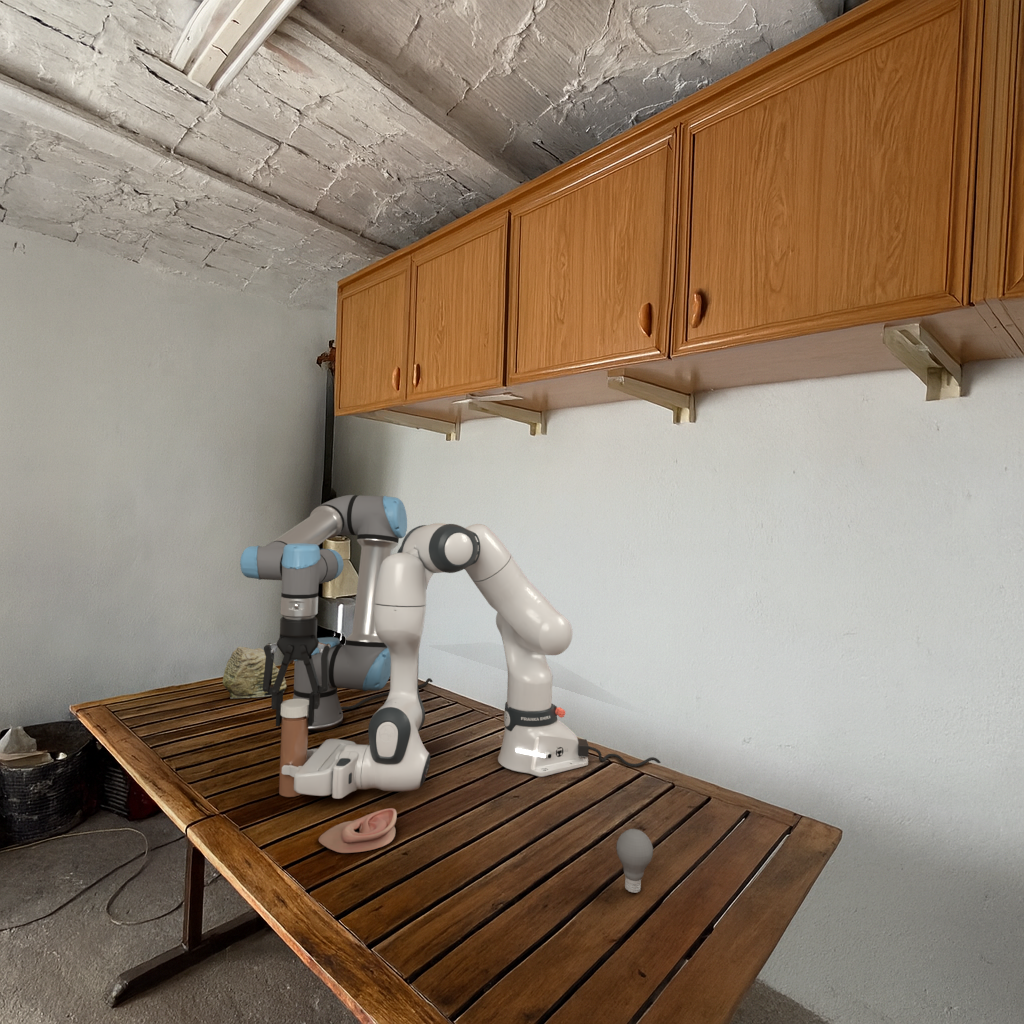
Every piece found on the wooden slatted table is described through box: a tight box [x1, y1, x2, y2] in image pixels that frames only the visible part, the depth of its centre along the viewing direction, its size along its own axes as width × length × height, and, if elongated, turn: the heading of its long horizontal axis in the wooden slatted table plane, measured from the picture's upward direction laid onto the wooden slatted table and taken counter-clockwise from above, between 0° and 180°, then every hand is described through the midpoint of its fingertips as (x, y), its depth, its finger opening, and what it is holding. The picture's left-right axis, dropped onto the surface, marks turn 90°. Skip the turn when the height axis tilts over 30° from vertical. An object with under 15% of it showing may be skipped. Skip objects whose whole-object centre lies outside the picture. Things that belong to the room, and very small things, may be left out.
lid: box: [281, 698, 309, 718], centre depth 135 cm, size 6×6×2 cm
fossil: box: [222, 646, 288, 699], centre depth 198 cm, size 9×18×15 cm, turn 132°
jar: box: [278, 715, 309, 798], centre depth 136 cm, size 6×6×18 cm
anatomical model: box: [318, 807, 398, 854], centre depth 118 cm, size 13×4×12 cm
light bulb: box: [615, 828, 654, 894], centre depth 106 cm, size 6×6×10 cm
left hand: (294, 723), depth 135 cm, fingers closed on lid, 6 cm apart
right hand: (289, 762), depth 136 cm, fingers closed on jar, 5 cm apart
